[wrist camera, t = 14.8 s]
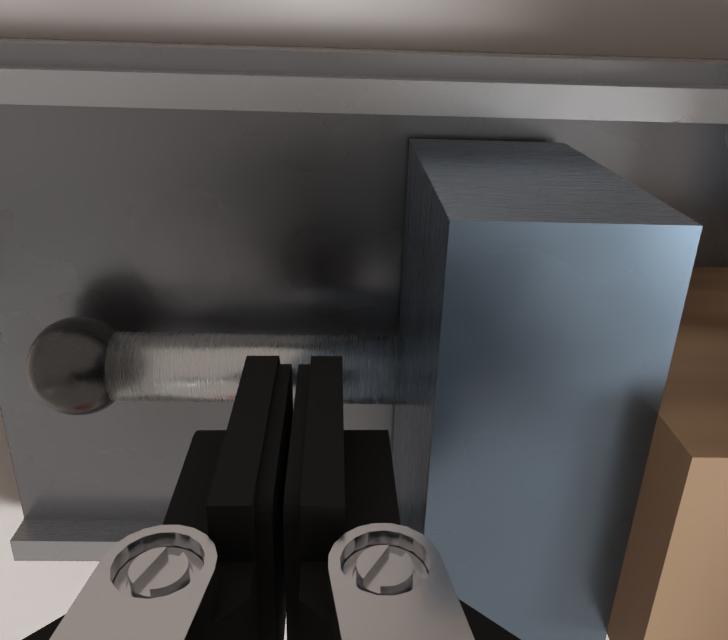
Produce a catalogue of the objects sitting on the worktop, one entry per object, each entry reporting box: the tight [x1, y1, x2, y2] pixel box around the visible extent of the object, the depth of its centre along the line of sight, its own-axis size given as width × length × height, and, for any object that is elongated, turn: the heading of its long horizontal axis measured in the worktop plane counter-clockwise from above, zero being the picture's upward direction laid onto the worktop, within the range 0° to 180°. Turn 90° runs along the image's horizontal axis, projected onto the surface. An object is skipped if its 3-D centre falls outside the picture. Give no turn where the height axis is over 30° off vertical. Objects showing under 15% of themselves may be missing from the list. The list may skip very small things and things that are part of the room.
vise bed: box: [0, 38, 728, 561], centre depth 13 cm, size 21×12×8 cm, turn 88°
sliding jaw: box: [26, 139, 703, 640], centre depth 12 cm, size 10×9×6 cm
